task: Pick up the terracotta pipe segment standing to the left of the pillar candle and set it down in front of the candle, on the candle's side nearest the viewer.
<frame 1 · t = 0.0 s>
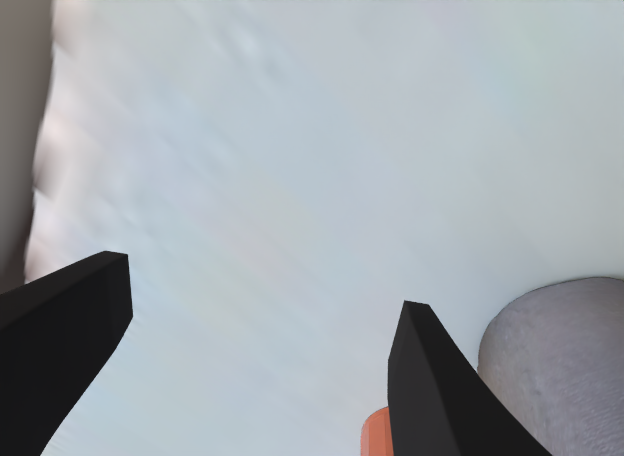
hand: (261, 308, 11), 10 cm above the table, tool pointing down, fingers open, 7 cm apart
terracotta pipe segment: (405, 435, 27), on the table
pillar candle: (570, 348, 23), on the table
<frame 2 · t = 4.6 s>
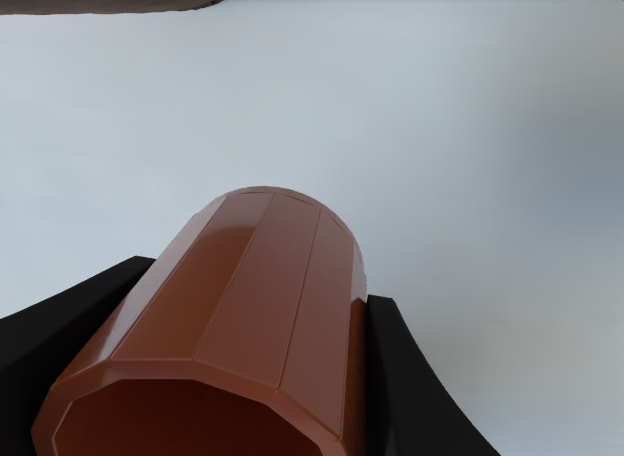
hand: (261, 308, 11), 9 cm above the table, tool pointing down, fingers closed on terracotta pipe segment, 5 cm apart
terracotta pipe segment: (271, 271, 13), point 7 cm above the table, touching gripper
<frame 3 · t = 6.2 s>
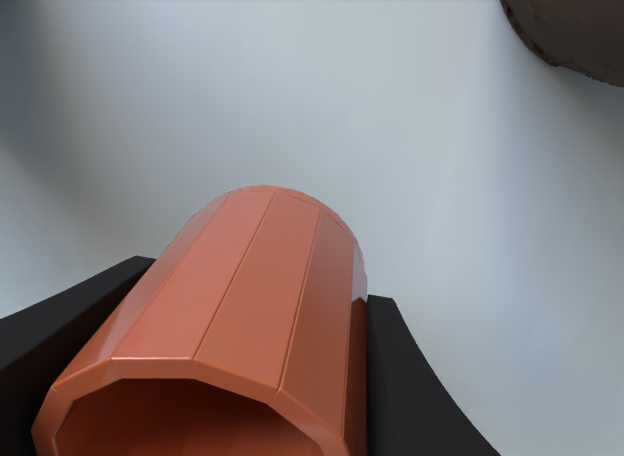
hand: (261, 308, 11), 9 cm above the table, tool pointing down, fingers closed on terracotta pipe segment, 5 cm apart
terracotta pipe segment: (272, 271, 13), point 7 cm above the table, touching gripper
when the fingers open (2 cm above the table, at t = 9.9 s): terracotta pipe segment stays where it is, on the table.
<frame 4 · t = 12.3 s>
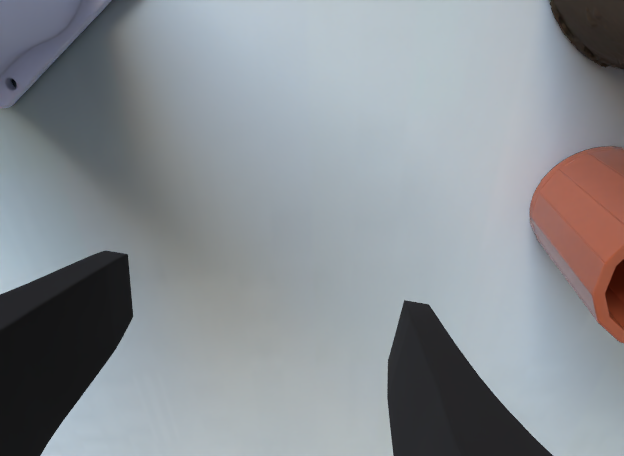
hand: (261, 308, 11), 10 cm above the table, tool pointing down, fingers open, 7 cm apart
terracotta pipe segment: (592, 204, 20), on the table
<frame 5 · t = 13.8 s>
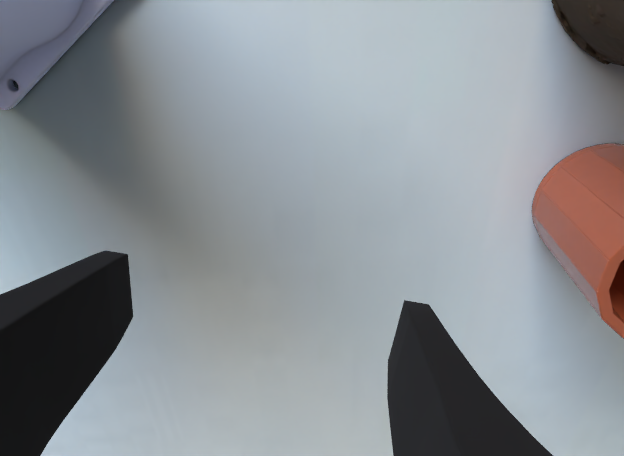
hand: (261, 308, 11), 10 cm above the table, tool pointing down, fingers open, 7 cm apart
terracotta pipe segment: (595, 201, 20), on the table
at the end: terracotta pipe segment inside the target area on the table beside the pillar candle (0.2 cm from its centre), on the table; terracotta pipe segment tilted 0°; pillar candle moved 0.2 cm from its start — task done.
